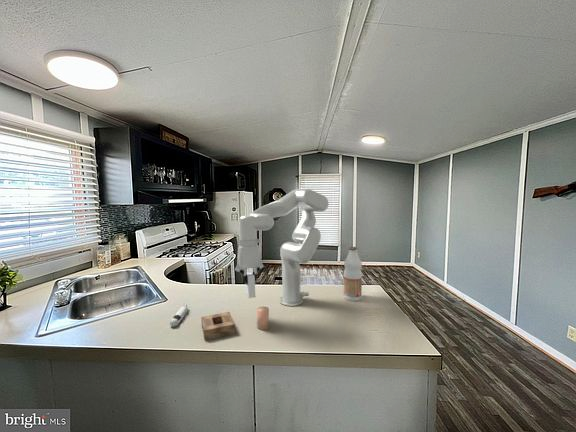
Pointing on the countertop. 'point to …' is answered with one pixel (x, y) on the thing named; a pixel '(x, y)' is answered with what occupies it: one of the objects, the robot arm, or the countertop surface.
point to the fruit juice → (352, 276)
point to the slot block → (217, 325)
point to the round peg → (263, 318)
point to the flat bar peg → (250, 285)
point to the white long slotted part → (179, 316)
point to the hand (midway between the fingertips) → (250, 282)
